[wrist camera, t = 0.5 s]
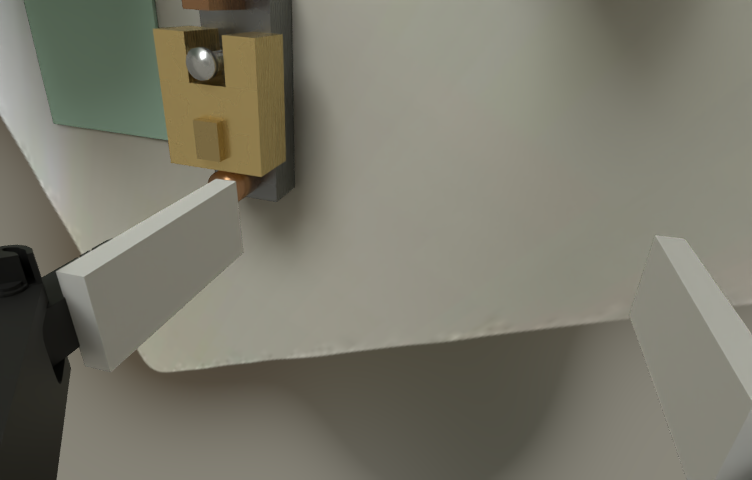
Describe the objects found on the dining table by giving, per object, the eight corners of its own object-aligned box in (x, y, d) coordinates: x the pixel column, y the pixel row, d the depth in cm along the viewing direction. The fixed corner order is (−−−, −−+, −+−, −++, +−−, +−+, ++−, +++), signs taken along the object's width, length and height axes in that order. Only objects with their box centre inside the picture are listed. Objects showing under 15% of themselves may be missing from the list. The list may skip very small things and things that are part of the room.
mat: (20, -29, 45) (16, -29, 44) (151, -20, 42) (148, -20, 41) (56, 122, 51) (53, 123, 51) (173, 139, 48) (170, 140, 48)
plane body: (223, -28, 40) (149, -36, 32) (291, -24, 39) (231, -31, 31) (238, 178, 48) (182, 213, 40) (294, 187, 47) (248, 224, 39)
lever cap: (189, 25, 38) (145, 29, 34) (282, 34, 37) (249, 38, 32) (202, 148, 43) (164, 165, 38) (285, 160, 41) (256, 180, 37)
